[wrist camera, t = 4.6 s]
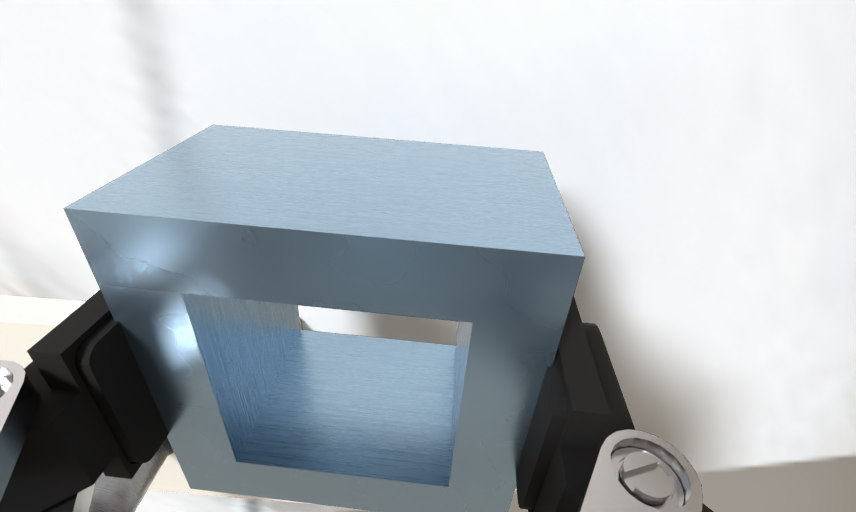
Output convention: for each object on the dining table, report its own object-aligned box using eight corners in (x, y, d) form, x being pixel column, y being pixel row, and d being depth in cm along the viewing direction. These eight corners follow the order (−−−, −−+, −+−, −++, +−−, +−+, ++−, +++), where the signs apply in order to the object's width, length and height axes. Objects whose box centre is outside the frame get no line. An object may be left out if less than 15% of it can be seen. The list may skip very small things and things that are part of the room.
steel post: (175, 409, 19) (53, 599, 13) (190, 444, 21) (87, 629, 15) (115, 404, 19) (-32, 592, 13) (135, 440, 21) (10, 623, 15)
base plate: (299, 317, 18) (288, 343, 17) (323, 476, 24) (316, 504, 23) (-33, 292, 18) (-69, 316, 17) (80, 456, 25) (60, 482, 23)
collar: (543, 152, 9) (584, 256, 6) (495, 382, 13) (503, 526, 9) (212, 124, 9) (64, 208, 6) (263, 357, 13) (190, 488, 10)
